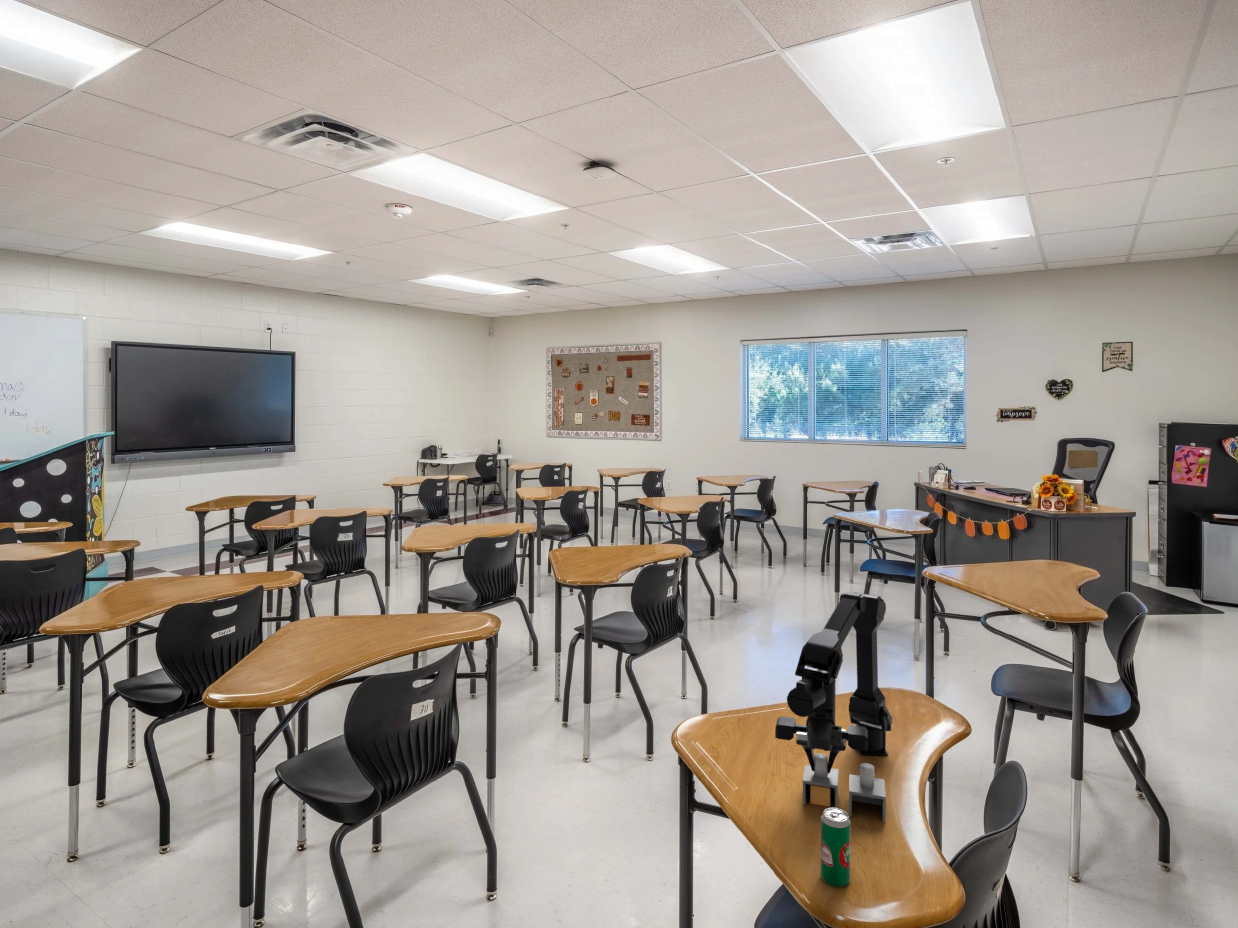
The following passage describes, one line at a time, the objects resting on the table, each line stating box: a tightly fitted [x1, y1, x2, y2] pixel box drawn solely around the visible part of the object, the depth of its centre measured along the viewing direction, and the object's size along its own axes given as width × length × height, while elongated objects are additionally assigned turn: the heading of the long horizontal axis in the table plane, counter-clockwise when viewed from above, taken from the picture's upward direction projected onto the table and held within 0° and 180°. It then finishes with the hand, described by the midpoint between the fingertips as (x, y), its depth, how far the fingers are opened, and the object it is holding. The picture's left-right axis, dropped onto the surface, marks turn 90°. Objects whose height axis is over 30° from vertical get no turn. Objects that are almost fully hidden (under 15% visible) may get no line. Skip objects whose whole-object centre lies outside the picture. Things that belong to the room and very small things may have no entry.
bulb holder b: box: [802, 753, 839, 809], centre depth 146 cm, size 7×7×10 cm
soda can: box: [820, 807, 852, 888], centre depth 121 cm, size 5×5×12 cm
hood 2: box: [848, 762, 887, 824], centre depth 142 cm, size 7×7×10 cm
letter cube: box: [809, 784, 832, 807], centre depth 146 cm, size 4×4×4 cm
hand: (820, 771), depth 146 cm, fingers closed on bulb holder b, 3 cm apart
